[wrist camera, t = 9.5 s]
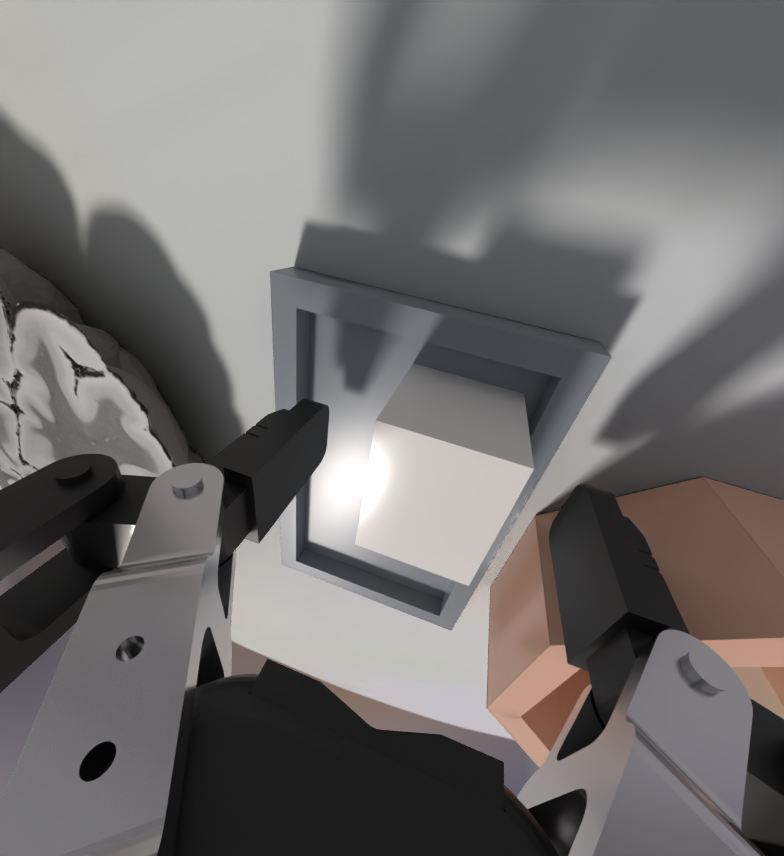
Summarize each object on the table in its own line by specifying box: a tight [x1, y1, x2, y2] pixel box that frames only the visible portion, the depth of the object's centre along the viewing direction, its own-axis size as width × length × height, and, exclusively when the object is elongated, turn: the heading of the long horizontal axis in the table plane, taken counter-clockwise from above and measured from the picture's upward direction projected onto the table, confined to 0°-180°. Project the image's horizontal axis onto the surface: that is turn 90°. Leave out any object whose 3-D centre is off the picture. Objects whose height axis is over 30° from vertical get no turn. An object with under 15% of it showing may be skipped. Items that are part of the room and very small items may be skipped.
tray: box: [270, 267, 611, 630], centre depth 13 cm, size 14×9×1 cm, turn 170°
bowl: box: [487, 477, 784, 768], centre depth 11 cm, size 12×12×5 cm
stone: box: [355, 363, 534, 586], centre depth 9 cm, size 4×3×4 cm
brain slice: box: [0, 248, 205, 490], centre depth 16 cm, size 20×17×3 cm
